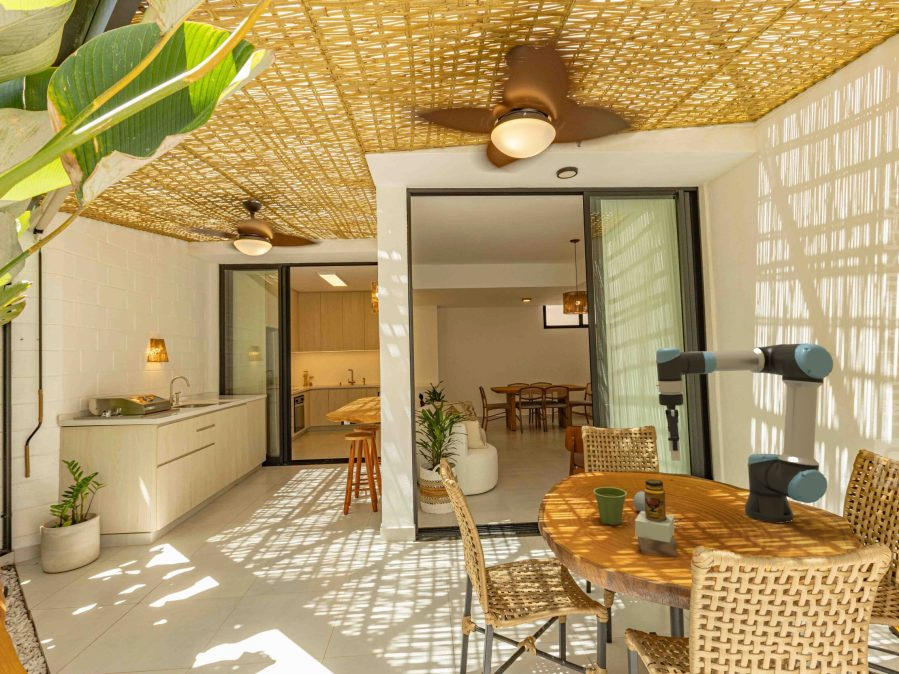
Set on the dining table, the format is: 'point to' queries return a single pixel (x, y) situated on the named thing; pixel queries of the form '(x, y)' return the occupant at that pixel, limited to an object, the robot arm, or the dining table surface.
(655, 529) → the sage block
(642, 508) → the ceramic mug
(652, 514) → the condiment
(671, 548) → the walnut block
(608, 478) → the dining table surface
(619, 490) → the plant pot
